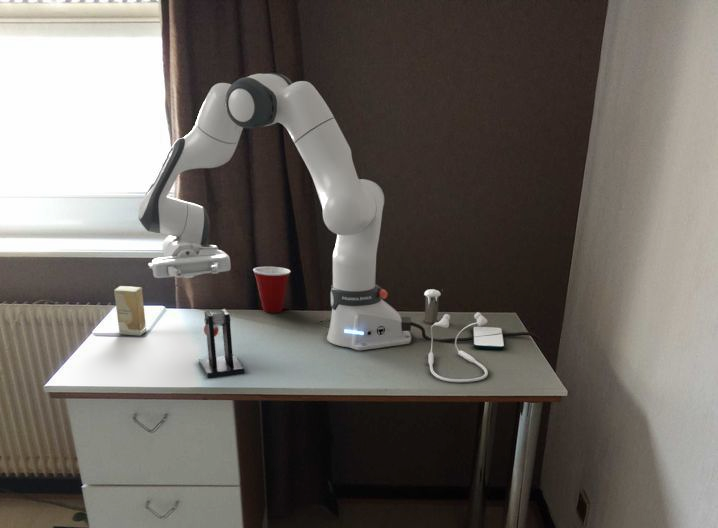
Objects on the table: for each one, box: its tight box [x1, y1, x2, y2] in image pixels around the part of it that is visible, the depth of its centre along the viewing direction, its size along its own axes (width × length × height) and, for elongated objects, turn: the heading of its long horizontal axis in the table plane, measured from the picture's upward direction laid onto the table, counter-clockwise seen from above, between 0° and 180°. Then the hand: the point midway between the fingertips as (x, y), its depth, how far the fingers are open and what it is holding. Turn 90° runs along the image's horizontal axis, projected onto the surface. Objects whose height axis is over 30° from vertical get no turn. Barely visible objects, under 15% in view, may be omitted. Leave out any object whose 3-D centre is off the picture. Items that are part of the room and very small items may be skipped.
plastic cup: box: [252, 266, 291, 313], centre depth 221 cm, size 11×11×12 cm
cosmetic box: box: [113, 285, 147, 337], centre depth 203 cm, size 6×4×12 cm
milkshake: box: [423, 287, 445, 325], centre depth 212 cm, size 5×5×10 cm
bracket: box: [198, 308, 246, 379], centre depth 180 cm, size 10×9×14 cm
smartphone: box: [472, 326, 505, 350], centre depth 202 cm, size 8×1×16 cm
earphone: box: [427, 311, 489, 384], centre depth 182 cm, size 14×17×18 cm
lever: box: [203, 312, 224, 338], centre depth 182 cm, size 13×4×4 cm, turn 21°
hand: (197, 272), depth 191 cm, fingers open, 8 cm apart
